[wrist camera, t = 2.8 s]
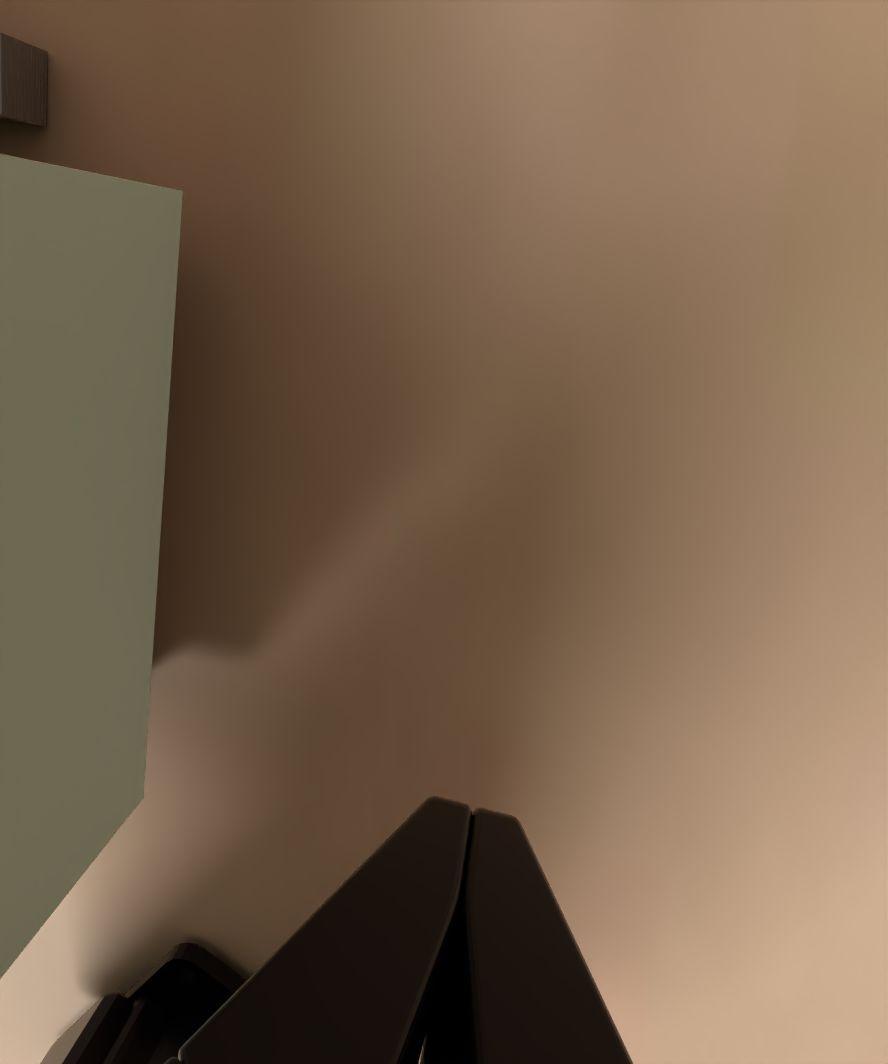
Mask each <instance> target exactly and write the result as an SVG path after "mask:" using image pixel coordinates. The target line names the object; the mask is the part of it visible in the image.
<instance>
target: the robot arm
mask: <svg viewBox="0 0 888 1064" xmlns="http://www.w3.org/2000/svg"><path fill="white" fill-rule="evenodd" d="M422 1046H423V1049H422ZM421 1050H422V1055H421V1061H420V1064H633V1062H632V1060H631V1058H630V1056H629V1054H628V1051H627V1049H626V1047H625V1045H624V1043H623V1041H622V1039H621V1037H620V1034H619V1032H618V1030H617V1028H616V1026H615V1024H614V1022H613V1019H612V1017H611V1015H610V1013H609V1011H608V1009H607V1007H606V1005H605V1002H604V1000H603V998H602V996H601V994H600V992H599V990H598V988H597V985H596V983H595V981H594V979H593V977H592V975H591V973H590V970H589V968H588V966H587V964H586V962H585V960H584V958H583V956H582V953H581V951H580V949H579V947H578V945H577V943H576V941H575V939H574V936H573V934H572V932H571V930H570V928H569V926H568V924H567V921H566V919H565V917H564V915H563V913H562V911H561V909H560V907H559V904H558V902H557V900H556V898H555V896H554V894H553V892H552V890H551V887H550V885H549V883H548V881H547V879H546V877H545V875H544V872H543V870H542V868H541V866H540V864H539V862H538V860H537V858H536V855H535V853H534V851H533V849H532V847H531V845H530V843H529V841H528V838H527V836H526V834H525V832H524V830H523V828H522V826H521V824H520V822H519V820H518V819H517V818H516V817H514V816H511V815H507V814H503V813H500V812H496V811H492V810H488V809H484V808H478V809H476V810H475V811H474V812H473V814H472V810H471V807H470V806H469V805H467V804H465V803H461V802H457V801H453V800H449V799H445V798H441V797H437V796H432V797H430V798H428V799H427V800H426V801H425V802H424V803H423V804H422V805H421V806H420V807H419V808H418V809H417V810H416V811H415V812H414V813H413V814H412V815H411V816H410V817H409V818H408V819H407V820H406V821H405V822H404V823H403V824H402V825H401V826H400V827H399V828H398V829H397V830H396V831H395V832H394V833H393V834H392V835H391V836H390V837H389V838H388V839H387V840H386V841H385V842H384V843H383V844H382V845H381V846H380V847H379V848H378V849H377V850H376V851H375V852H374V853H373V854H372V855H371V856H370V857H369V858H368V859H367V860H366V861H365V862H364V863H363V864H362V865H361V866H360V867H359V868H358V869H357V870H356V871H355V872H354V873H353V874H352V875H351V876H350V877H349V878H348V879H347V880H346V881H345V882H344V883H343V884H342V885H341V886H340V887H339V888H338V889H337V890H336V891H335V892H334V893H333V894H332V895H331V896H330V897H329V898H328V899H327V900H326V901H325V902H324V903H323V904H322V905H321V906H320V907H319V908H318V909H317V911H316V912H315V913H314V914H313V915H312V916H311V917H310V918H309V919H308V920H307V921H306V922H305V923H304V924H303V925H302V926H301V927H300V928H299V929H298V930H297V931H296V932H295V933H294V934H293V935H292V936H291V937H290V938H289V939H288V940H287V941H286V942H285V943H284V944H283V945H282V946H281V947H280V948H279V949H278V950H277V951H276V952H275V953H274V954H273V955H272V956H271V957H270V958H269V959H268V960H267V961H266V962H265V963H264V964H263V965H262V966H261V967H260V968H259V969H258V970H257V971H256V972H255V973H254V974H253V975H252V976H251V977H250V978H249V979H248V980H247V981H246V980H245V979H244V978H242V977H241V976H240V975H238V974H237V973H236V972H234V971H233V970H232V969H231V968H229V967H228V966H227V965H225V964H224V963H223V962H221V961H220V960H219V959H217V958H216V957H215V956H213V955H212V954H211V953H209V952H208V951H207V950H206V949H204V948H202V947H200V946H198V945H196V944H191V943H183V944H179V945H178V946H176V947H174V948H173V949H172V950H171V951H170V952H169V953H168V954H167V955H166V956H165V957H164V958H163V959H162V960H161V961H159V962H158V963H157V964H156V965H155V966H154V967H153V968H152V969H151V970H150V971H149V972H148V973H147V974H146V975H145V976H144V977H143V978H142V979H140V980H139V981H138V982H137V983H136V984H135V985H134V986H133V987H132V988H131V989H130V990H129V991H128V992H127V993H126V994H125V995H123V994H122V993H120V992H119V991H117V992H114V993H110V994H106V995H104V996H103V997H102V998H101V999H100V1000H99V1001H98V1002H97V1003H95V1004H94V1005H93V1006H92V1007H91V1008H90V1009H89V1010H88V1011H87V1012H86V1013H85V1014H84V1015H83V1016H82V1017H81V1018H80V1019H79V1020H78V1021H77V1022H76V1023H75V1024H74V1025H73V1026H72V1027H71V1028H70V1029H68V1030H67V1031H66V1032H65V1033H64V1034H63V1035H62V1036H61V1037H60V1038H59V1039H58V1040H57V1041H56V1042H55V1043H54V1044H53V1045H52V1047H51V1048H50V1050H49V1051H48V1053H47V1054H46V1056H45V1057H44V1059H43V1060H42V1062H41V1063H40V1064H418V1062H419V1058H420V1054H421Z"/></svg>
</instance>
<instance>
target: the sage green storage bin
mask: <svg viewBox="0 0 888 1064" xmlns="http://www.w3.org/2000/svg"><path fill="white" fill-rule="evenodd" d="M182 197H183V191H182V190H177V189H172V188H167V187H162V186H157V185H152V184H147V183H142V182H138V181H133V180H128V179H123V178H118V177H113V176H108V175H103V174H98V173H93V172H89V171H84V170H79V169H74V168H69V167H64V166H59V165H54V164H49V163H44V162H40V161H35V160H30V159H25V158H20V157H15V156H10V155H5V154H0V979H1V977H2V976H3V975H4V974H5V972H6V971H7V970H8V969H9V967H10V966H11V965H12V964H13V962H14V961H15V960H16V958H17V957H18V956H19V955H20V953H21V952H22V951H23V950H24V948H25V947H26V946H27V945H28V943H29V942H30V941H31V939H32V938H33V937H34V936H35V934H36V933H37V932H38V931H39V929H40V928H41V927H42V926H43V924H44V923H45V922H46V920H47V919H48V918H49V917H50V915H51V914H52V913H53V912H54V910H55V909H56V908H57V907H58V905H59V904H60V903H61V901H62V900H63V899H64V898H65V896H66V895H67V894H68V893H69V891H70V890H71V889H72V887H73V886H74V885H75V884H76V882H77V881H78V880H79V879H80V877H81V876H82V875H83V874H84V872H85V871H86V870H87V868H88V867H89V866H90V865H91V863H92V862H93V861H94V860H95V858H96V857H97V856H98V855H99V853H100V852H101V851H102V849H103V848H104V847H105V846H106V844H107V843H108V842H109V841H110V839H111V838H112V837H113V836H114V834H115V833H116V832H117V830H118V829H119V828H120V827H121V825H122V824H123V823H124V822H125V820H126V819H127V818H128V817H129V815H130V814H131V813H132V811H133V810H134V809H135V808H136V806H137V805H138V804H139V803H140V801H141V800H142V799H143V794H144V779H145V764H146V749H147V733H148V718H149V703H150V687H151V672H152V657H153V641H154V626H155V611H156V595H157V580H158V565H159V549H160V534H161V519H162V503H163V488H164V473H165V457H166V442H167V427H168V412H169V396H170V381H171V366H172V350H173V335H174V320H175V304H176V289H177V274H178V258H179V243H180V228H181V212H182Z"/></svg>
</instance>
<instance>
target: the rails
mask: <svg viewBox="0 0 888 1064" xmlns="http://www.w3.org/2000/svg"><path fill="white" fill-rule="evenodd" d="M0 118H5V119H10V120H15V121H20V122H25V123H30V124H35V125H40V126H45V127H47V52H46V51H44V50H41V49H39V48H36V47H34V46H32V45H29V44H27V43H24V42H22V41H19V40H17V39H15V38H12V37H10V36H7V35H5V34H3V33H0Z"/></svg>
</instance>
